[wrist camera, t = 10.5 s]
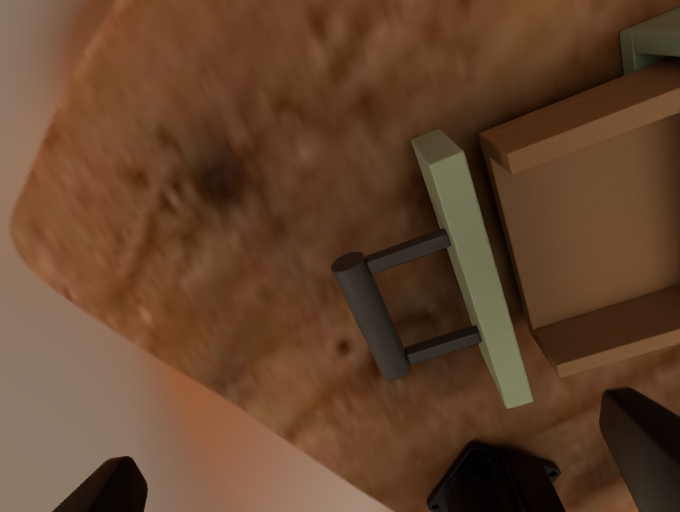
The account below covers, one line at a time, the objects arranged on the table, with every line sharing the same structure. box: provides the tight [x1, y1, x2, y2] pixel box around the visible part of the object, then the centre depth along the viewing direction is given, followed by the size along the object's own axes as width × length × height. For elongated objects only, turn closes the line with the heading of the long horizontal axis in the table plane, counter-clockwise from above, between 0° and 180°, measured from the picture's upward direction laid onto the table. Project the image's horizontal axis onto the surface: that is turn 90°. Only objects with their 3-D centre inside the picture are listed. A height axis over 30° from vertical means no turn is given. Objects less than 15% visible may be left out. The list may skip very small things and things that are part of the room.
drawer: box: [331, 56, 680, 409], centre depth 18 cm, size 18×12×4 cm
